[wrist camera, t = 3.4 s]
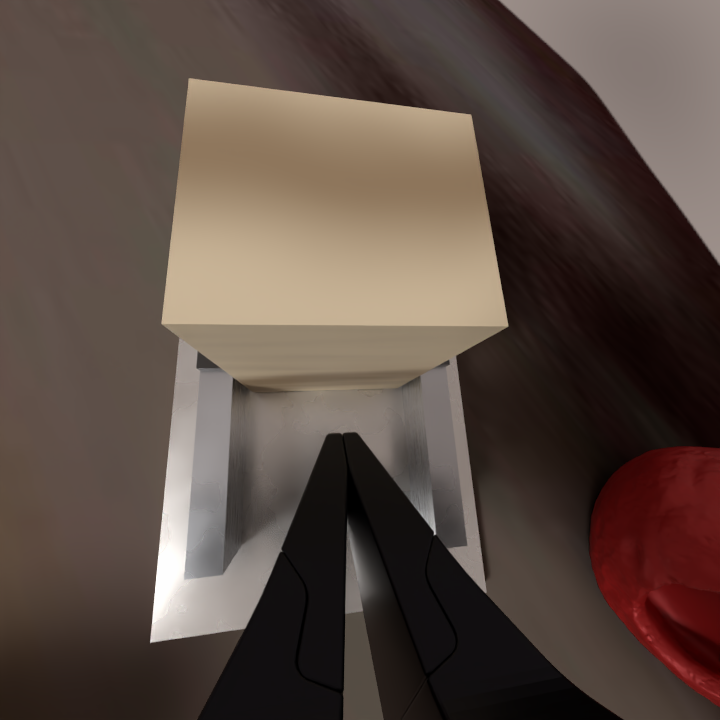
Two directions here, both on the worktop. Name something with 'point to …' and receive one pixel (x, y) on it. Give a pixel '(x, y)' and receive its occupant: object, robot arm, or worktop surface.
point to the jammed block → (328, 239)
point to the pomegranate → (665, 558)
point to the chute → (291, 482)
